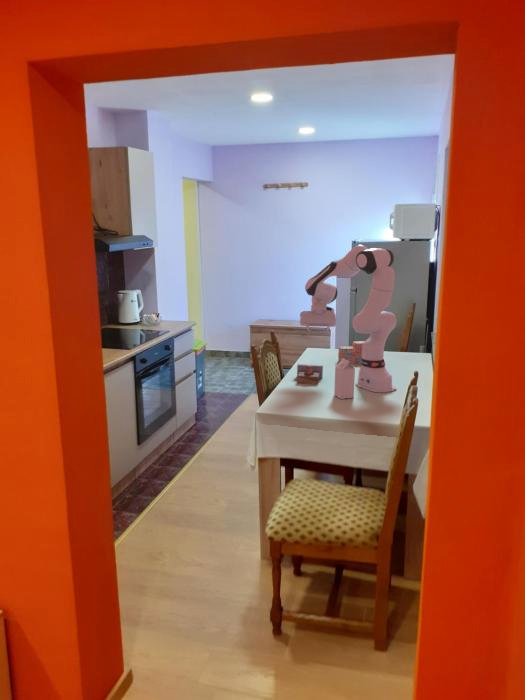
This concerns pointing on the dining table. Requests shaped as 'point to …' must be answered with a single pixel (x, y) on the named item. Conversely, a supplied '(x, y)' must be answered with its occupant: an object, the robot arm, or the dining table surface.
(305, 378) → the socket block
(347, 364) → the milk carton
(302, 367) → the backstop wall
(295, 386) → the dining table surface
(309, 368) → the dowel
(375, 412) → the dining table surface
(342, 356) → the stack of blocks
